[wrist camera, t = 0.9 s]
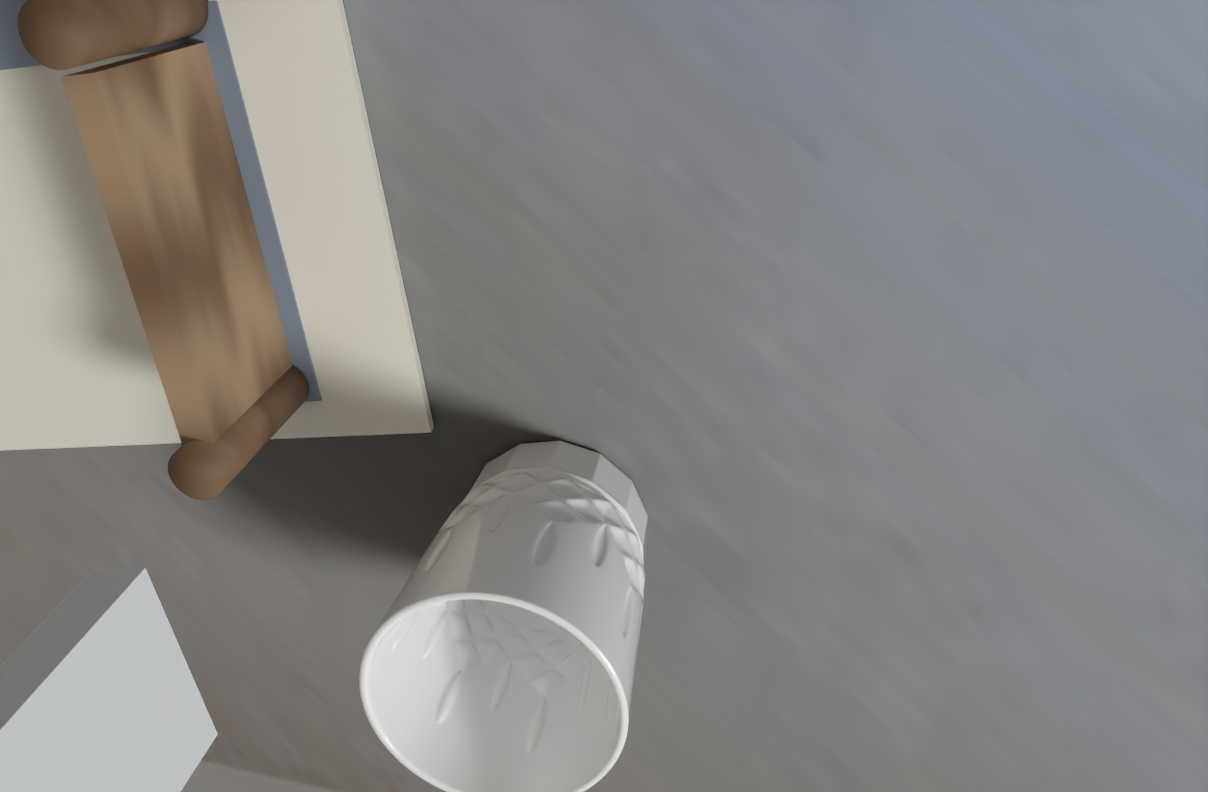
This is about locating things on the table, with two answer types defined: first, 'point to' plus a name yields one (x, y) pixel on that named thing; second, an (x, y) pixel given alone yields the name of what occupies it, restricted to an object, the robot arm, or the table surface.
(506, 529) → the white cup
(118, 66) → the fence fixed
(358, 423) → the board
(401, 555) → the table surface
